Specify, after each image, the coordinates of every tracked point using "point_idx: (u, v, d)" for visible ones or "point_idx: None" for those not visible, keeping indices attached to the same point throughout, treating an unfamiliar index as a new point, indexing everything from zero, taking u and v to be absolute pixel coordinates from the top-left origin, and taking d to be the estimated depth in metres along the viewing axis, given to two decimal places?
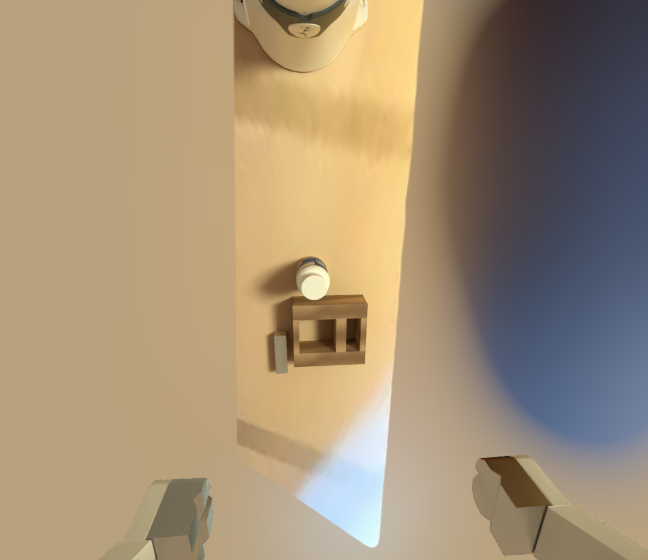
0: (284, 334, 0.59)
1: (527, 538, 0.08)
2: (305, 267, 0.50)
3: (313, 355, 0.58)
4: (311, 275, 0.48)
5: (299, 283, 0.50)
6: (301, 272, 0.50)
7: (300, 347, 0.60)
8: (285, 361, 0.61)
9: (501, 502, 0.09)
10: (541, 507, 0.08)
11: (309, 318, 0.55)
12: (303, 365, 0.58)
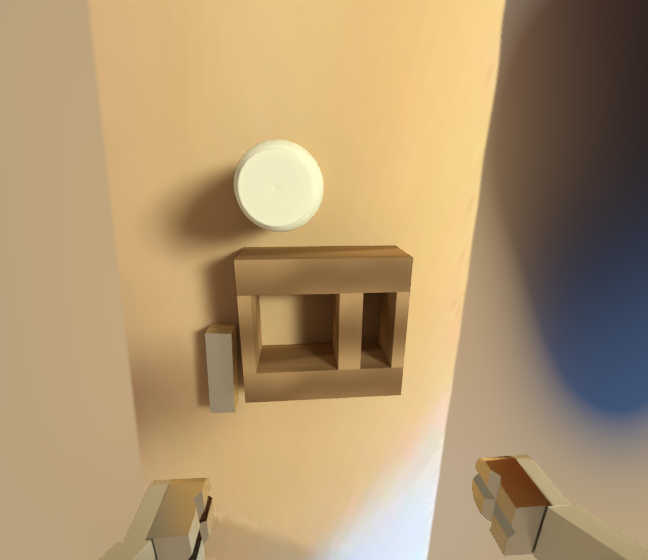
0: (229, 331, 0.27)
1: (527, 538, 0.08)
2: None
3: (288, 376, 0.26)
4: (266, 149, 0.16)
5: None
6: (244, 155, 0.18)
7: (261, 358, 0.28)
8: (230, 388, 0.29)
9: (501, 502, 0.09)
10: (541, 507, 0.08)
11: (276, 291, 0.24)
12: (266, 399, 0.26)
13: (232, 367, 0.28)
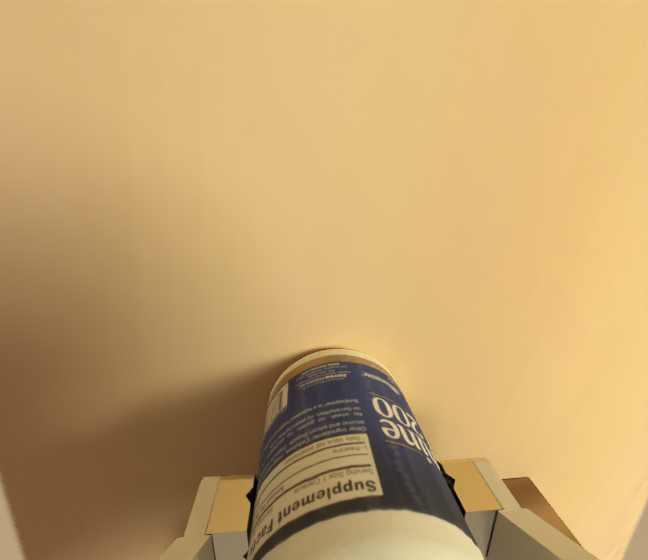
0: None
1: (479, 542, 0.08)
2: (310, 534, 0.06)
3: None
4: None
5: None
6: None
7: None
8: None
9: None
10: (492, 511, 0.08)
11: None
12: None
13: None
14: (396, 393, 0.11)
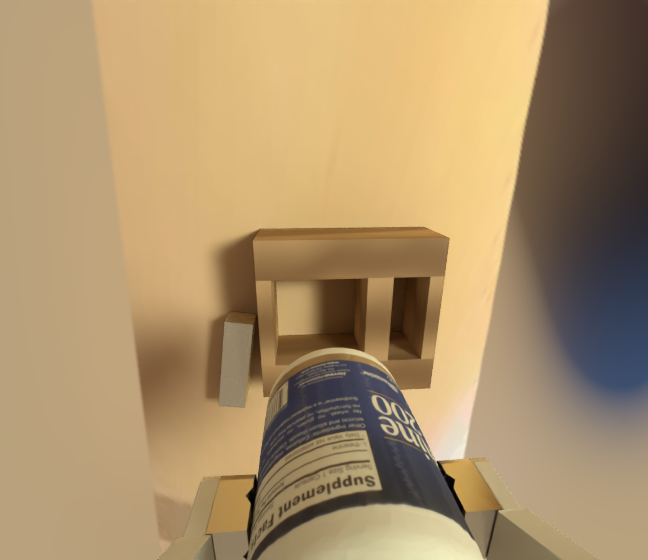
0: (250, 322, 0.25)
1: (479, 542, 0.08)
2: (310, 527, 0.06)
3: None
4: None
5: None
6: None
7: (279, 349, 0.26)
8: (243, 382, 0.27)
9: None
10: (492, 511, 0.08)
11: (298, 276, 0.21)
12: None
13: (249, 360, 0.26)
14: (395, 391, 0.11)
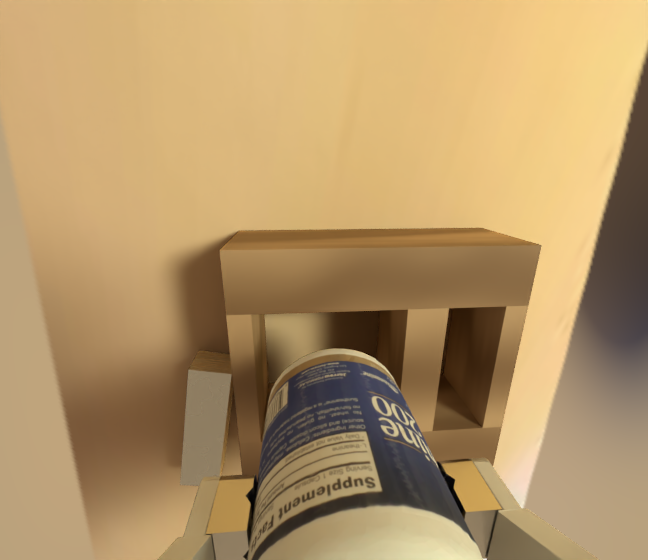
0: (228, 369, 0.17)
1: (479, 542, 0.08)
2: (310, 529, 0.06)
3: None
4: None
5: None
6: None
7: None
8: (216, 453, 0.18)
9: None
10: (492, 511, 0.08)
11: (296, 306, 0.13)
12: None
13: (224, 423, 0.18)
14: (395, 392, 0.11)
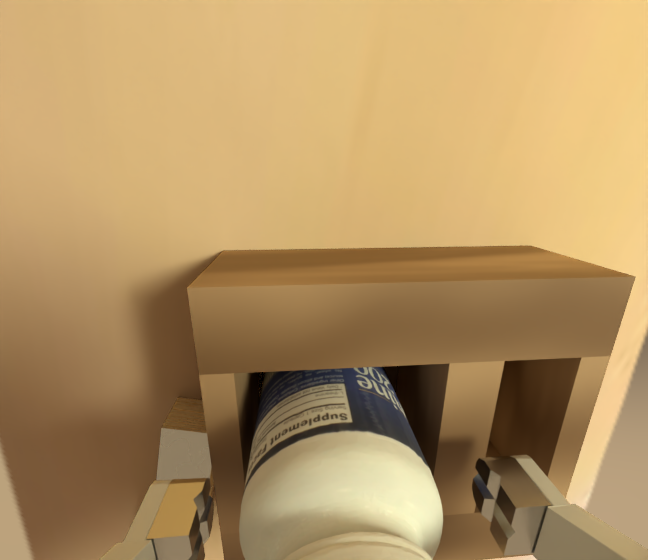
0: None
1: (527, 538, 0.08)
2: (294, 447, 0.08)
3: None
4: None
5: (254, 558, 0.08)
6: (267, 491, 0.07)
7: None
8: None
9: (500, 502, 0.09)
10: (541, 507, 0.08)
11: (297, 362, 0.09)
12: None
13: None
14: None
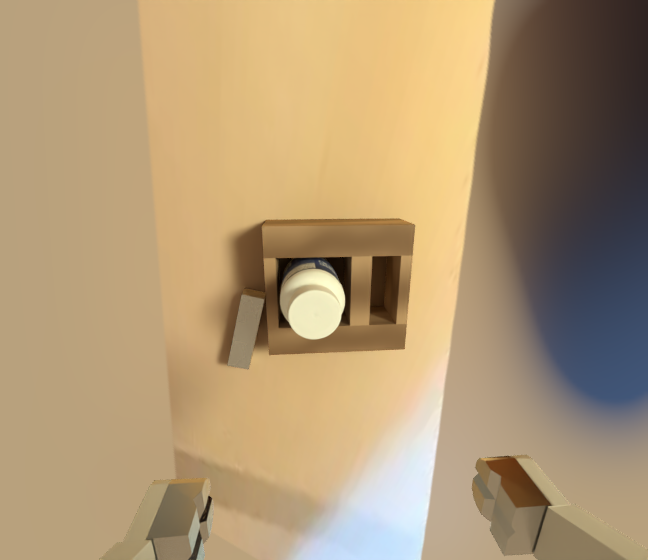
0: (262, 297, 0.31)
1: (527, 538, 0.08)
2: (297, 273, 0.26)
3: None
4: (308, 289, 0.23)
5: (285, 305, 0.25)
6: (289, 283, 0.25)
7: (281, 318, 0.31)
8: (250, 347, 0.32)
9: (501, 501, 0.09)
10: (541, 507, 0.08)
11: (297, 254, 0.27)
12: (286, 351, 0.30)
13: (257, 329, 0.32)
14: (329, 264, 0.30)
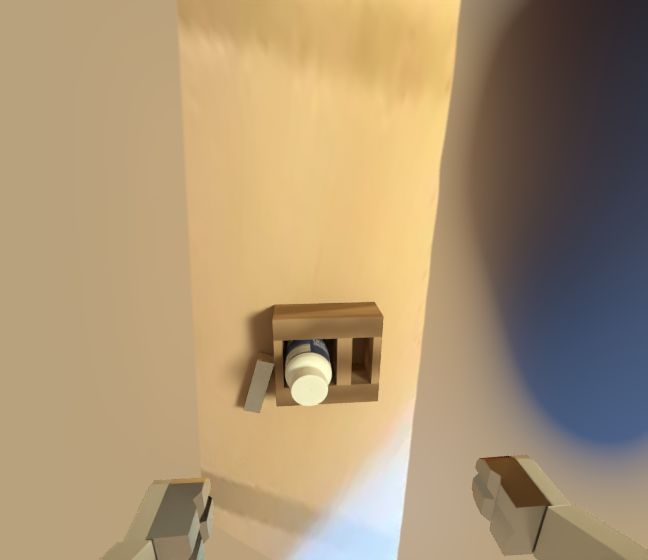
0: (272, 361, 0.42)
1: (527, 538, 0.08)
2: (297, 356, 0.36)
3: None
4: (304, 373, 0.34)
5: (289, 379, 0.36)
6: (291, 364, 0.36)
7: None
8: (261, 397, 0.43)
9: (501, 501, 0.09)
10: (541, 507, 0.08)
11: (297, 337, 0.38)
12: (289, 404, 0.40)
13: (267, 384, 0.42)
14: None
